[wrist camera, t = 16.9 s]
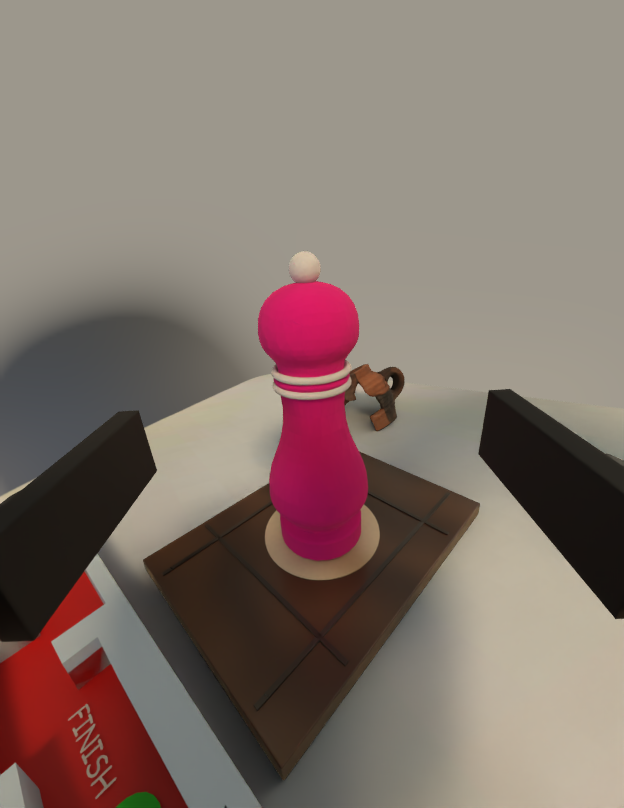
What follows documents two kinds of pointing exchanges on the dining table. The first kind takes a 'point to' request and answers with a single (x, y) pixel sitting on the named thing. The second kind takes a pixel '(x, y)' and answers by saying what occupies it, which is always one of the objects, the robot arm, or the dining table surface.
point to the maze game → (104, 716)
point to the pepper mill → (314, 413)
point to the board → (304, 600)
